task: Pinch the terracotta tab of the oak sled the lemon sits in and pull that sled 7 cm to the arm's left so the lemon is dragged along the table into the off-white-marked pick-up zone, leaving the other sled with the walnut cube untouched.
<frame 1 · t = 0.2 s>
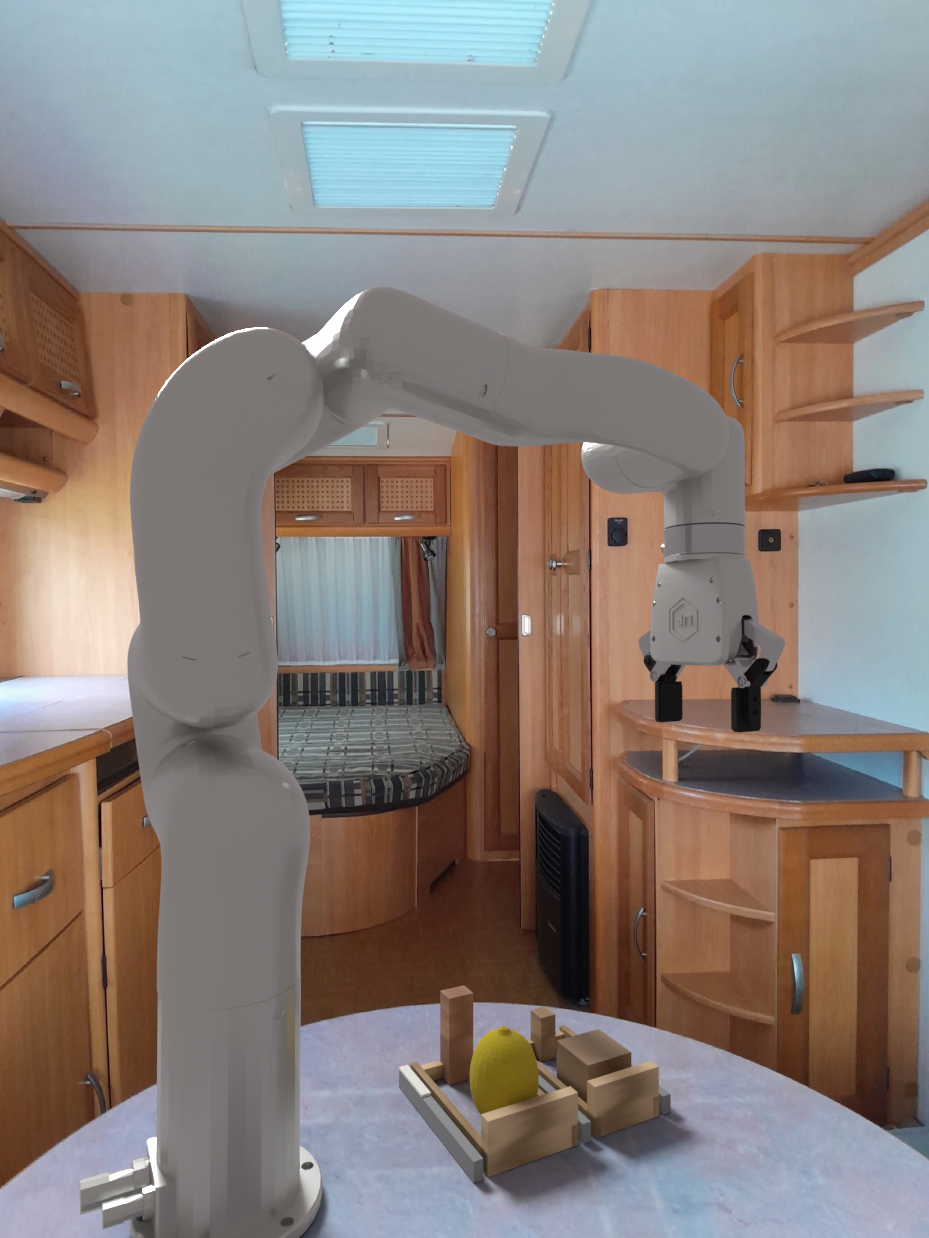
hand: (705, 726, 76), 31 cm above the table, tool pointing down, fingers open, 9 cm apart
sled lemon: (488, 1065, 66), point 4 cm above the table, slide at 0.0 cm
walnut cube: (593, 1099, 68), resting in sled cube
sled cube: (578, 1061, 70), point 2 cm above the table, slide at 0.0 cm
lemon: (503, 1130, 64), resting in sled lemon
rail right: (622, 1079, 71), on the table
lane rails: (538, 1096, 68), on the table
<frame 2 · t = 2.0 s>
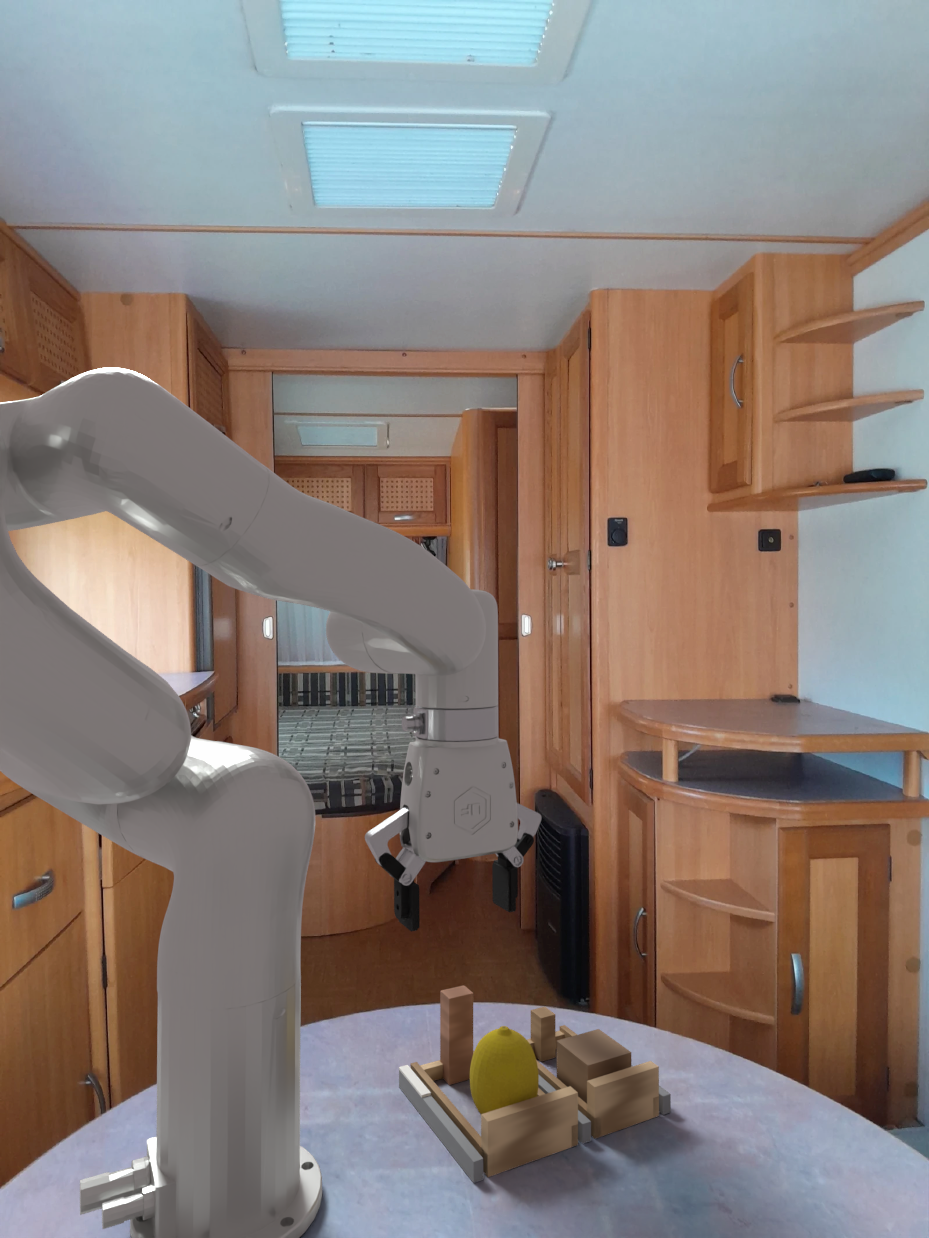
hand: (457, 916, 72), 14 cm above the table, tool pointing down, fingers open, 9 cm apart
nothing on the table moved.
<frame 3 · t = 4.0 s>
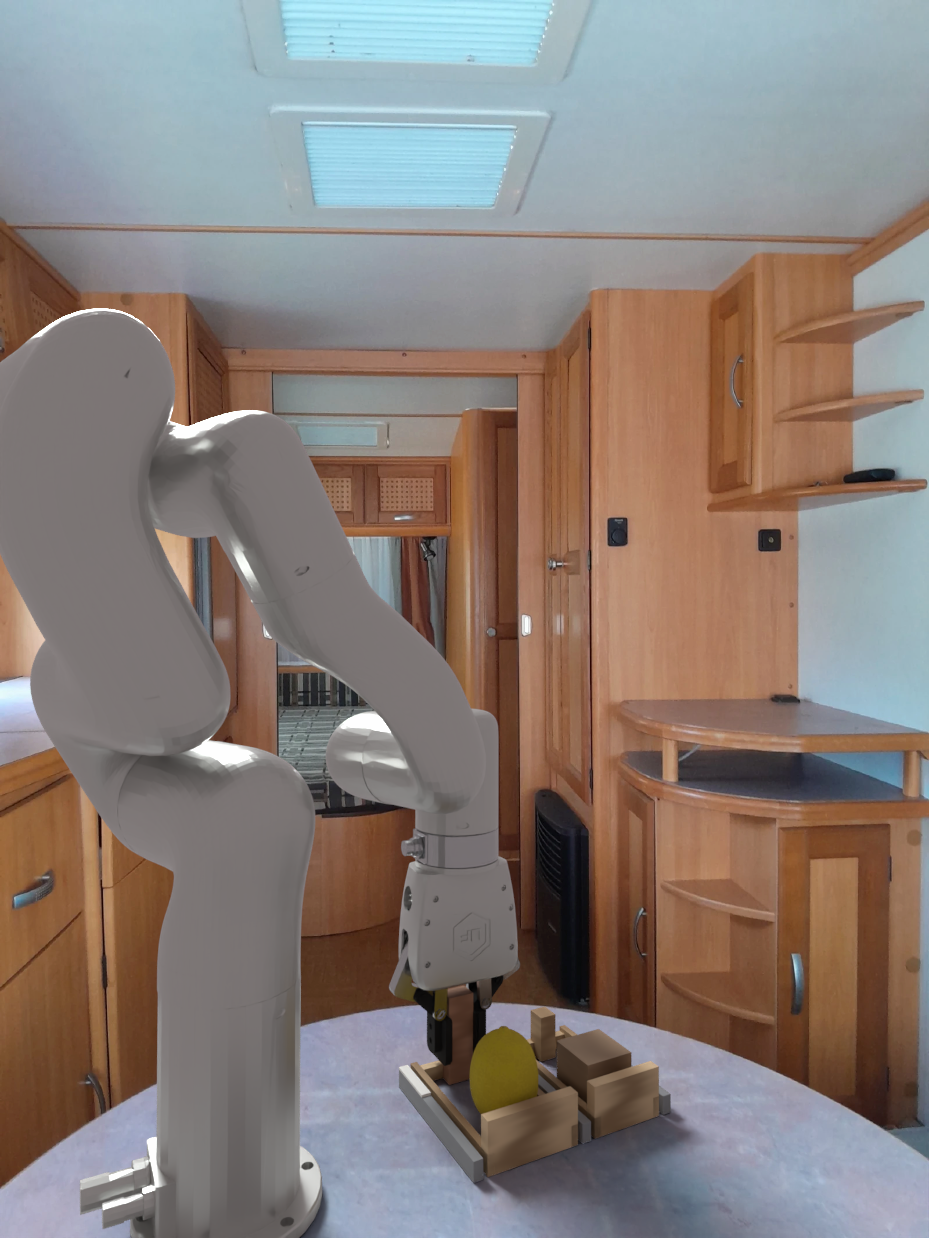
hand: (456, 1051, 71), 2 cm above the table, tool pointing down, fingers closed on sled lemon, 2 cm apart
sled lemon: (488, 1065, 66), point 4 cm above the table, slide at 0.0 cm, touching gripper
everything else where it was.
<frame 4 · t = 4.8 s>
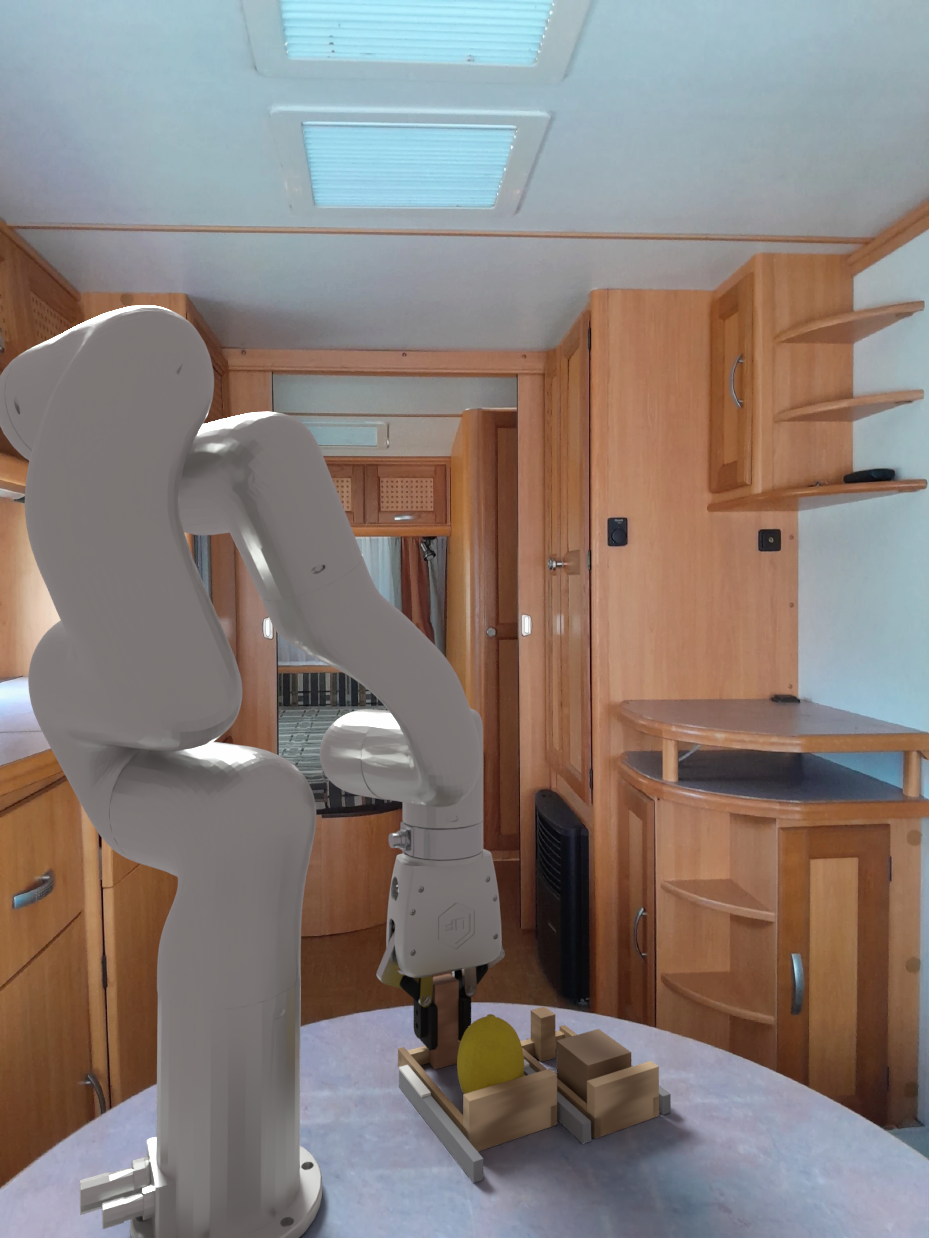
hand: (442, 1037, 74), 2 cm above the table, tool pointing down, fingers closed on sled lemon, 2 cm apart
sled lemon: (472, 1049, 68), point 4 cm above the table, slide at 2.9 cm, touching gripper
lemon: (490, 1115, 66), resting in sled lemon
everything else where it was.
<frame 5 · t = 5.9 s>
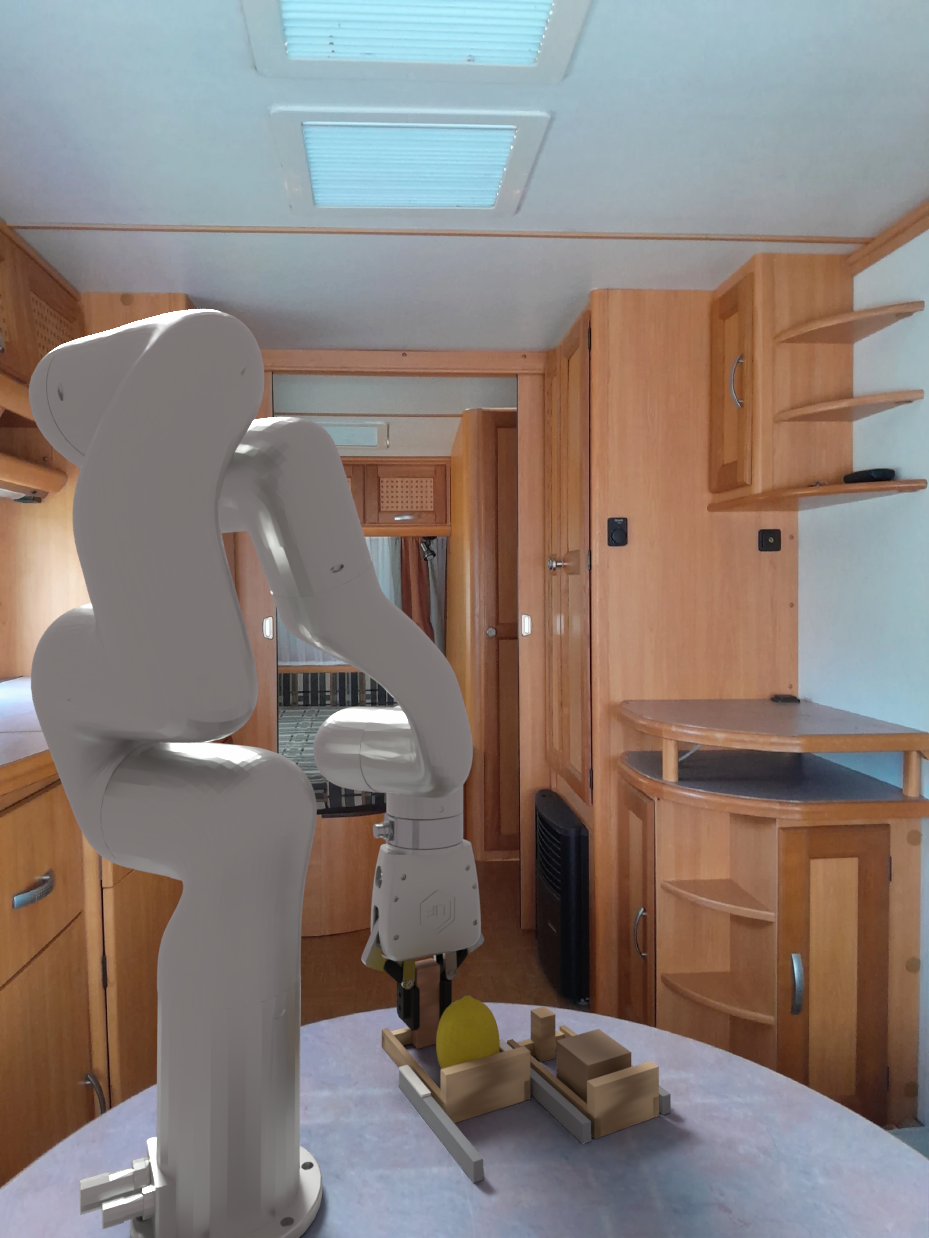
hand: (424, 1019, 77), 2 cm above the table, tool pointing down, fingers closed on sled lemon, 2 cm apart
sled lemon: (451, 1028, 72), point 4 cm above the table, slide at 6.9 cm, touching gripper, lemon
lemon: (467, 1091, 69), resting in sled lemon
everything else where it was.
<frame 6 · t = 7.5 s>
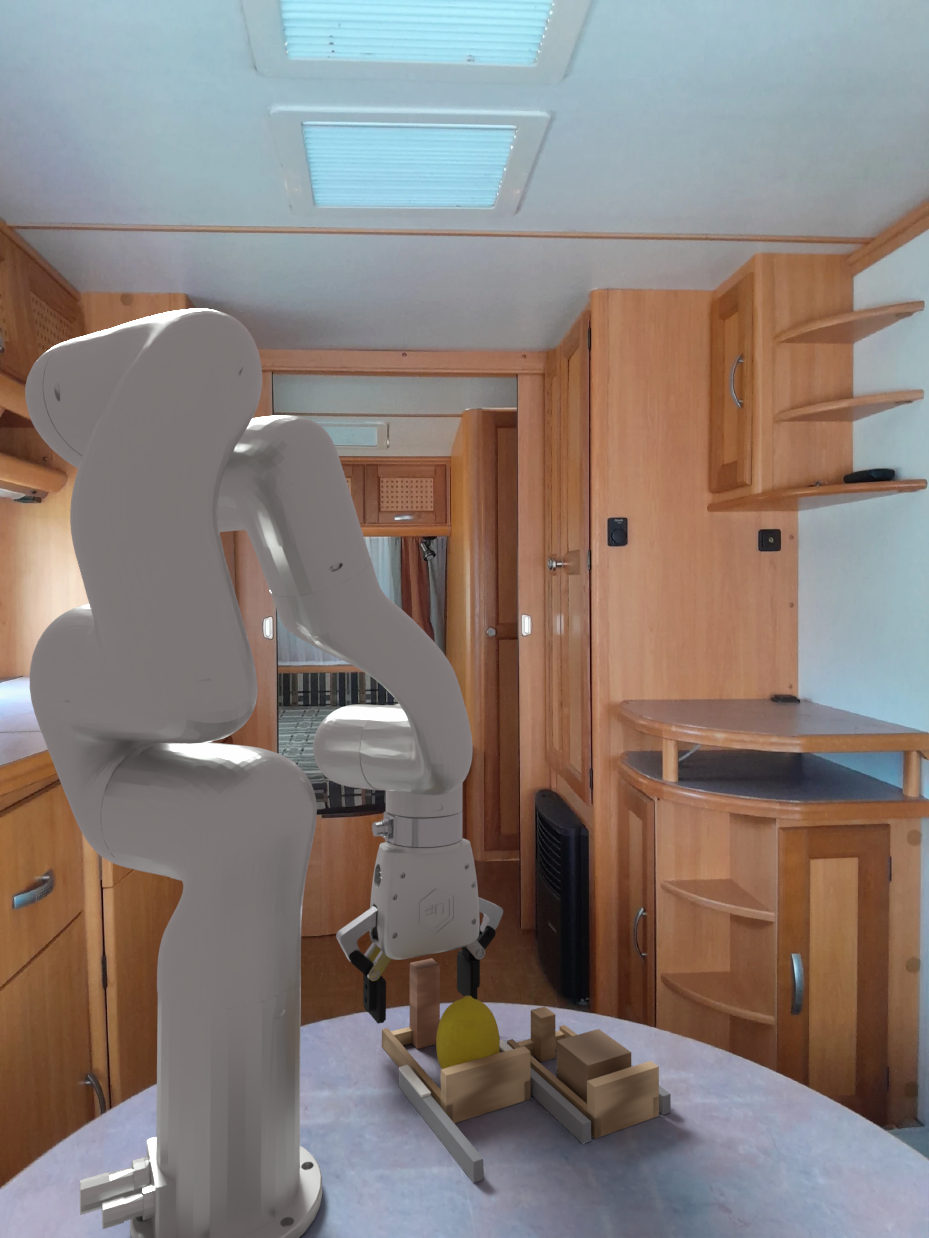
hand: (422, 1006, 77), 3 cm above the table, tool pointing down, fingers open, 9 cm apart
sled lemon: (451, 1029, 72), point 4 cm above the table, slide at 6.9 cm
lemon: (467, 1091, 69), resting in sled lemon
everything else where it was.
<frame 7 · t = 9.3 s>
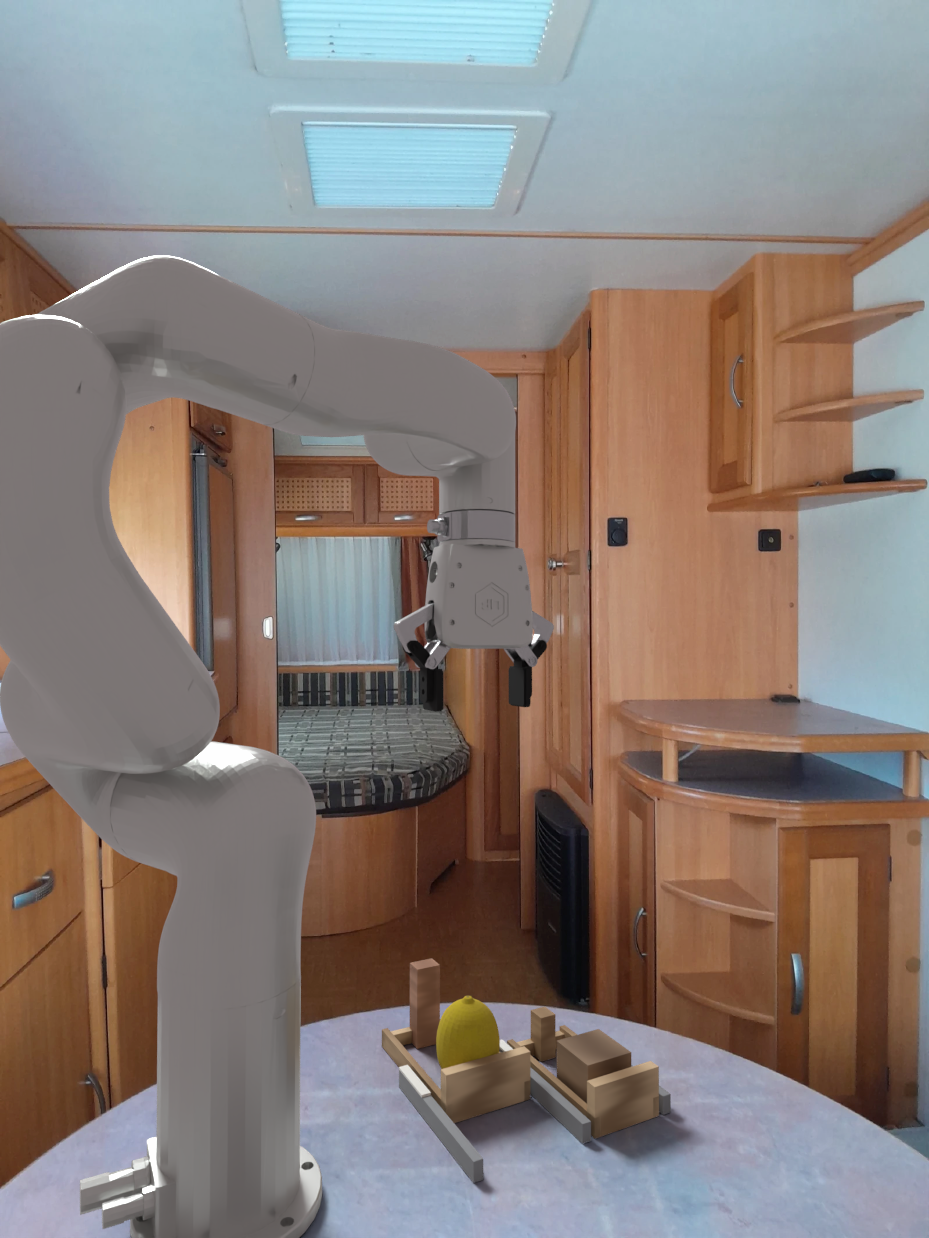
hand: (477, 708, 78), 32 cm above the table, tool pointing down, fingers open, 9 cm apart
nothing on the table moved.
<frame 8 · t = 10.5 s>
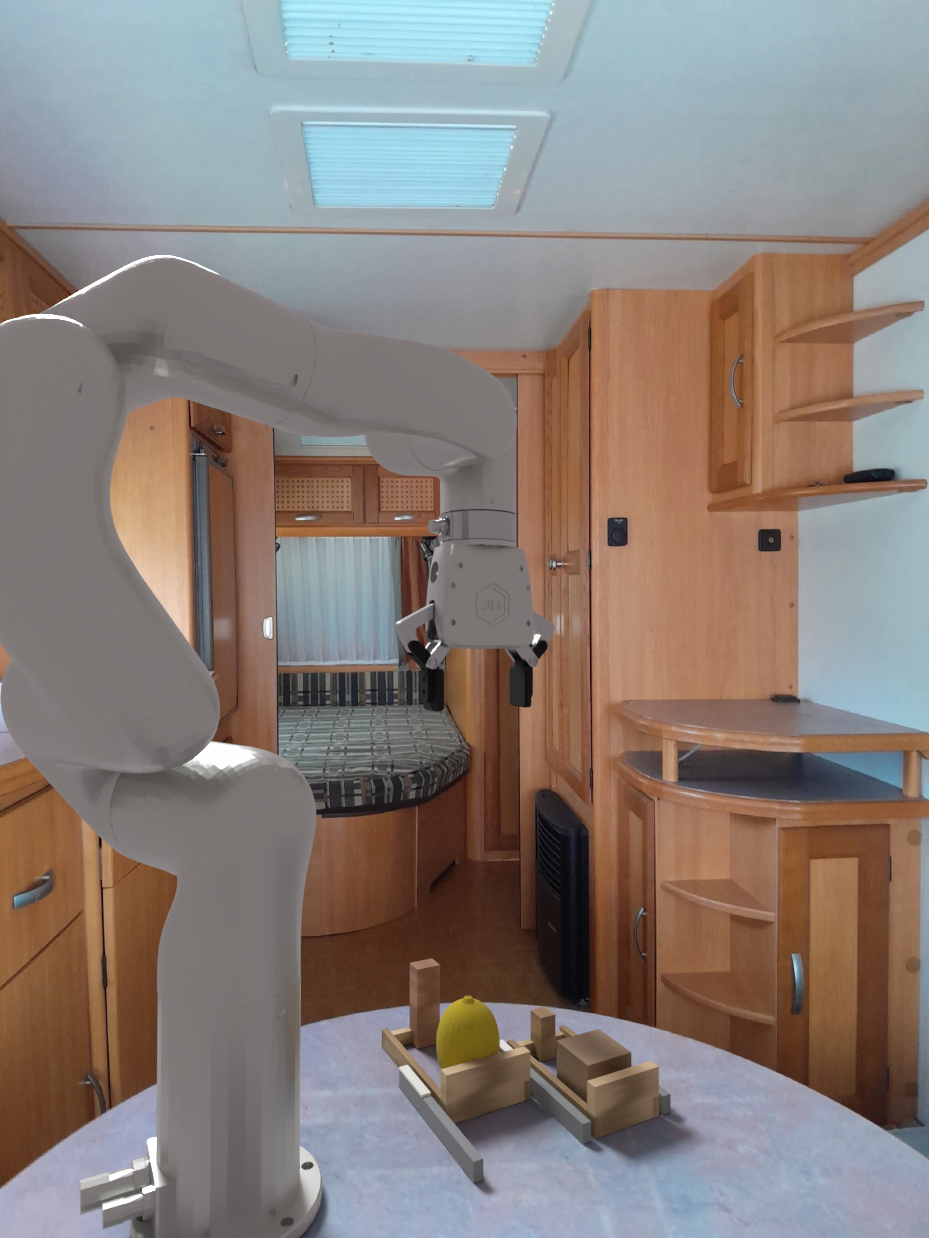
hand: (478, 708, 78), 32 cm above the table, tool pointing down, fingers open, 9 cm apart
nothing on the table moved.
at the end: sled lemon slide at 6.9 cm; lemon inside the target area (3.4 cm from its centre), resting in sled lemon; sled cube slide at 0.0 cm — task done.
